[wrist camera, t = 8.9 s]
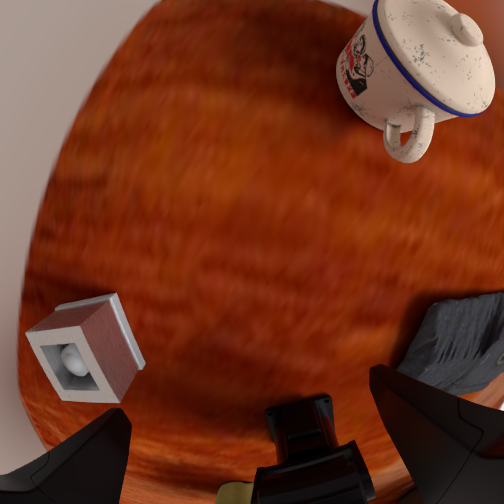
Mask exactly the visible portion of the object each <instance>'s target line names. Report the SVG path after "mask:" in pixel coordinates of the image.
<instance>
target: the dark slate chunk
mask: <svg viewBox="0 0 504 504" xmlns="http://www.w3.org/2000/svg"><path fill="white" fill-rule="evenodd" d="M396 371H399V372H401V373H403V374H405V375H408V376H410V377H412V378H415V379H417V380H419V381H421V382H424V383H426V384H428V385H431V386H433V387H436V388H438V389H440V390H443V391H445V392H448V393H450V394H452V395H455V396H457V395H464V394H467V393H473V392H477V391H481V390H483V389H484V388H485V387H487V386H488V385H489V383H490V382H491V381H492V380H493V379H495V378H496V377H497V376H498V375H499V374H501V373H503V372H504V292H503V293H502V292H498V293H497V294H496V293H494V294H493V293H492V294H490V295H487V294H485V295H479V296H477V297H470V298H465V299H459V300H454V299H448V300H444V301H440V302H438V303H435V304H433V305H431V306H430V307H429V308H428V310H427V313H426V315H425V317H424V320H423V321H422V323H421V326H420V328H419V330H418V331H417V333H416V335H415V337H414V340H413V341H412V343H411V344H410V347H409V349H408V351H407V353H406V355H405V358H404V360H403V361H402V362H401V363H400V364H399V365H398V367H397V369H396Z"/></svg>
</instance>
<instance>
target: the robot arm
mask: <svg viewBox="0 0 504 504" xmlns="http://www.w3.org/2000/svg"><path fill="white" fill-rule="evenodd" d="M369 386H370V390H371V393H372V396H373V398H374V401H375V403H376V406H377V408H378V411H379V414H380V416H381V419H382V421H383V424H384V426H385V428H386V430H387V432H388V434H389V435H390V437H391V439H392V441H393V443H394V445H395V447H396V448H397V450H398V452H399V454H400V456H401V458H402V460H403V462H404V464H405V466H406V467H407V469H408V471H409V473H410V475H411V477H412V479H413V481H414V483H415V485H416V487H417V489H418V491H419V493H420V495H421V497H422V499H423V501H424V503H425V504H504V411H502V410H498V409H494V408H490V407H486V406H482V405H479V404H476V403H473V402H471V401H468V400H465V399H463V398H460V397H459V398H458V397H457V396H455V395H452V394H450V393H448V392H445V391H443V390H440V389H438V388H436V387H433V386H431V385H428V384H426V383H424V382H421V381H419V380H417V379H415V378H412V377H410V376H408V375H405V374H403V373H401V372H399V371H396V370H394V369H392V368H390V367H388V366H385V365H383V364H378V365H375V366H372V367H371V368H370V371H369ZM326 399H328V400H326ZM270 412H271V413H270ZM265 417H266V420H267V423H268V426H269V429H270V432H271V435H272V438H273V441H274V444H275V446H276V453H277V462H278V465H273V466H269V467H259V468H257V472H256V475H255V479H254V485H253V491H252V496H251V502H250V503H251V504H368V500H371V499H373V498H376V495H375V490H374V487H373V483H372V480H371V477H370V474H369V472H368V469H367V467H366V464H365V462H364V460H363V458H362V455H361V453H360V451H359V449H358V447H357V444H356V442H355V440H353V441H350V442H349V443H348V444H345V445H342V446H339V444H338V441H337V438H336V435H335V429H334V417H333V406H332V399H331V396H330V395H324V396H320V397H317V398H313V399H309V400H305V401H300V402H296V403H292V404H287V405H282V406H277V407H272V408H268V409H266V410H265ZM131 431H132V425H131V422H130V421H129V419H128V418H127V416H126V414H125V413H124V411H123V410H122V409H121V408H110V409H109V410H107V411H106V412H105V413H103V414H102V415H100V416H99V417H98V418H96V419H95V420H93V421H92V422H91V423H89V424H88V425H86V426H85V427H83V428H82V429H81V430H79V431H78V432H76V433H75V434H73V435H72V436H70V437H69V438H67V439H66V440H65V441H63V442H62V443H60V444H59V445H57V446H56V447H54V448H53V449H51V451H48V452H46V453H45V454H43V455H42V456H40V457H39V458H37V459H35V460H33V461H32V462H30V463H28V464H26V465H24V466H22V467H20V468H18V469H16V470H14V471H12V472H10V473H8V474H5V475H0V504H119V500H120V495H121V490H122V485H123V480H124V475H125V471H126V466H127V461H128V455H129V447H130V438H131Z"/></svg>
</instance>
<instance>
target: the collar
mask: <svg viewBox="0 0 504 504" xmlns="http://www.w3.org/2000/svg"><path fill="white" fill-rule="evenodd" d="M25 334H26V336H27V338H28V340H29V342H30V344H31V346H32V348H33V350H34V352H35V354H36V356H37V358H38V360H39V362H40V364H41V366H42V368H43V370H44V371H45V373H46V375H47V377H48V378H49V380H50V382H51V383H52V385H53V387H54V388H55V390H56V392H57V393H58V395H59V396H60V398H61V400H65V401H78V402H98V403H120V402H121V400H122V398H123V397H124V395H125V393H126V391H127V389H128V387H129V386H130V384H131V382H132V380H133V378H134V377H135V375H136V373H137V371H138V370H139V368H140V366H139V364H138V362H137V360H136V358H135V356H134V354H133V352H132V349H131V347H130V345H129V343H128V340H127V338H126V336H125V334H124V331H123V329H122V326H121V324H120V322H119V319H118V317H117V314H116V312H115V309H114V306H113V304H112V301H111V299H107V300H102V301H97V302H92V303H87V304H82V305H77V306H72V307H67V308H62V309H57V310H56V311H54V312H53V313H51V314H50V315H49V316H47V317H46V318H44V319H43V320H42V321H40V322H39V323H38V324H36V325H35V326H34V327H32V328H31V329H30V330H28V331H27V332H26V333H25ZM70 343H75V344H76V346H77V348H78V350H79V352H80V354H81V356H82V358H83V360H84V362H85V364H86V366H87V368H88V370H89V372H88V373H87V374H86V375H85V376H77V375H75V374H73V373H72V372H71V371H69V370H68V369H67V367H66V366H65V365H64V363H63V361H62V357H61V354H62V351H63V350H64V349H65V348H66V347H67V346H68V345H69V344H70Z"/></svg>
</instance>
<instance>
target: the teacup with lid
mask: <svg viewBox="0 0 504 504" xmlns="http://www.w3.org/2000/svg"><path fill="white" fill-rule="evenodd" d="M482 42H483V35H482V32H481V30H480V28H479V27H478V25H477V24H476V23H475V22H474V21H473V20H472V19H471V18H470V17H468V16H467V15H465V14H461V13H458V12H457V11H456V10H455V9H454V8H452V7H451V6H450V5H449V4H447V3H446V2H444V1H443V0H375V2H374V5H373V9H372V12H371V13H370V14H369V16H368V17H367V18H366V20H365V21H364V22H363V24H362V25H361V26H360V28H359V29H358V30H357V32H356V33H355V34H354V36H353V37H352V38H351V40H350V41H349V42H348V44H347V45H346V47H345V48H344V49H343V51H342V52H341V54H340V56H339V58H338V61H337V65H336V77H337V82H338V85H339V88H340V91H341V93H342V95H343V97H344V98H345V100H346V102H347V103H348V105H349V106H350V107H351V108H352V110H353V111H354V112H355V113H356V114H357V115H358V116H359V117H361V118H362V119H363V120H364V121H366V122H367V123H369V124H370V125H372V126H374V127H376V128H378V129H381V130H383V131H384V134H383V139H384V146H385V149H386V151H387V152H388V154H389V155H390V156H391V157H392V158H394V159H396V160H398V161H400V162H404V163H411V162H414V161H417V160H418V159H419V158H420V157H422V155H423V154H424V153H425V151H426V150H427V148H428V146H429V144H430V141H431V138H432V135H433V129H434V123H437V122H440V121H444V120H447V119H450V118H454V117H458V116H460V117H474V116H477V115H479V114H481V113H482V112H483V111H484V110H485V109H486V108H487V107H488V106H489V104H490V103H491V101H492V98H493V95H494V90H495V78H494V72H493V67H492V64H491V61H490V58H489V55H488V53H487V51H486V49H485V47H484V45H483V43H482ZM411 130H413V131H412V134H411V136H410V138H409V140H408V141H407V143H406V144H405V145H404V146H403V147H401V145H400V133H403V132H407V131H411Z"/></svg>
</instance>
